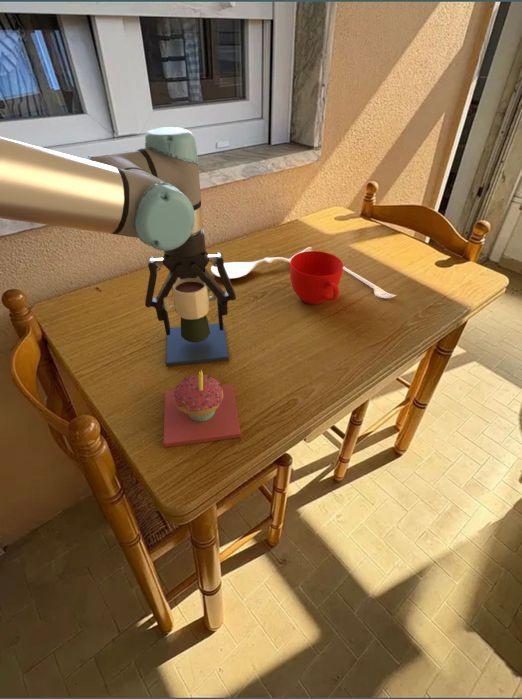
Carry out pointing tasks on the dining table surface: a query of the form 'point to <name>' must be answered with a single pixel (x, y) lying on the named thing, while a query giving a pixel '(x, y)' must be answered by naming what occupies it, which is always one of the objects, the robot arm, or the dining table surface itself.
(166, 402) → the rose mat
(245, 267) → the spoon
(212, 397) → the cupcake
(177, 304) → the character mug
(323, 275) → the ceramic cup
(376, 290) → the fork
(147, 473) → the dining table surface
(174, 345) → the blue mat
